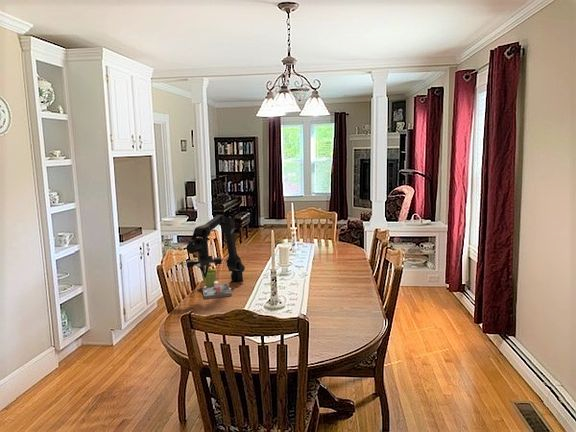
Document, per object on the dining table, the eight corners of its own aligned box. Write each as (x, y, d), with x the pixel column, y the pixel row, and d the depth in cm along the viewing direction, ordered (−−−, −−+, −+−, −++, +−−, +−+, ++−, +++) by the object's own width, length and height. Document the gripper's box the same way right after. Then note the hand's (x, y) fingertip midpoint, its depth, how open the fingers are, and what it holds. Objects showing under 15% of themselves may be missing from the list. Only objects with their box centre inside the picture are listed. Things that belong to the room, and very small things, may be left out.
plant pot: (202, 288, 266) (201, 274, 265) (201, 284, 275) (200, 270, 274) (218, 286, 268) (217, 272, 267) (217, 282, 277) (216, 268, 276)
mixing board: (228, 286, 268) (228, 281, 267) (232, 295, 250) (231, 290, 250) (202, 289, 264) (201, 285, 264) (204, 298, 247) (203, 293, 247)
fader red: (220, 290, 255) (219, 285, 254) (220, 292, 251) (220, 287, 251) (215, 291, 254) (215, 285, 254) (216, 292, 251) (215, 287, 250)
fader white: (218, 286, 264) (218, 281, 263) (219, 287, 260) (218, 282, 260) (214, 286, 263) (214, 281, 263) (215, 288, 260) (214, 283, 259)
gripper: (185, 254, 238) (188, 283, 240) (221, 250, 242) (223, 279, 245) (185, 250, 249) (187, 278, 251) (219, 247, 253) (221, 274, 255)
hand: (205, 277), depth 250 cm, fingers closed
